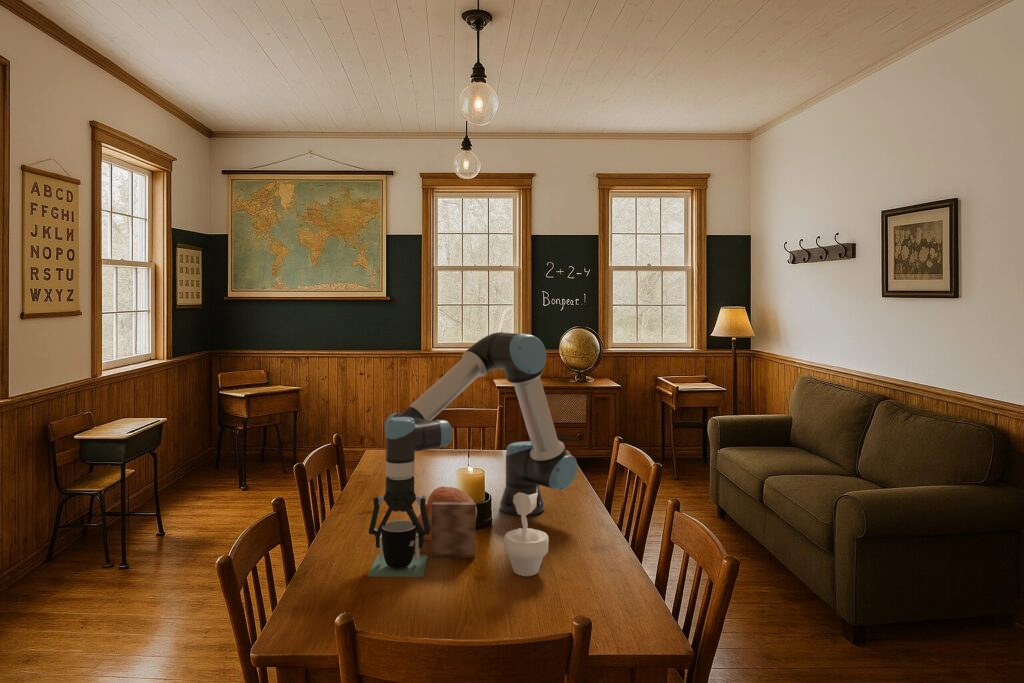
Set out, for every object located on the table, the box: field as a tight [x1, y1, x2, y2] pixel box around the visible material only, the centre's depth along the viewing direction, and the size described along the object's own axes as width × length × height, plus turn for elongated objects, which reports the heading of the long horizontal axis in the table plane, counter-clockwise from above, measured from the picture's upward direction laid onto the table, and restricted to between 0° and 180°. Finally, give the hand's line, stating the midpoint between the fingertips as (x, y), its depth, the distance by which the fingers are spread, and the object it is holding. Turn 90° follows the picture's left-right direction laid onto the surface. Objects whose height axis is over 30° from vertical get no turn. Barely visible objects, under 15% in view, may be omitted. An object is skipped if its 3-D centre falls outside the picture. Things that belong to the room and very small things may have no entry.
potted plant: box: [503, 488, 550, 577], centre depth 175 cm, size 13×12×25 cm
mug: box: [381, 519, 416, 568], centre depth 178 cm, size 12×9×10 cm
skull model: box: [416, 486, 478, 542], centre depth 201 cm, size 15×19×15 cm
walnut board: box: [430, 502, 477, 559], centre depth 187 cm, size 12×5×15 cm, turn 92°
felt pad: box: [367, 554, 429, 578], centre depth 178 cm, size 14×14×1 cm
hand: (399, 559), depth 178 cm, fingers closed on mug, 9 cm apart
